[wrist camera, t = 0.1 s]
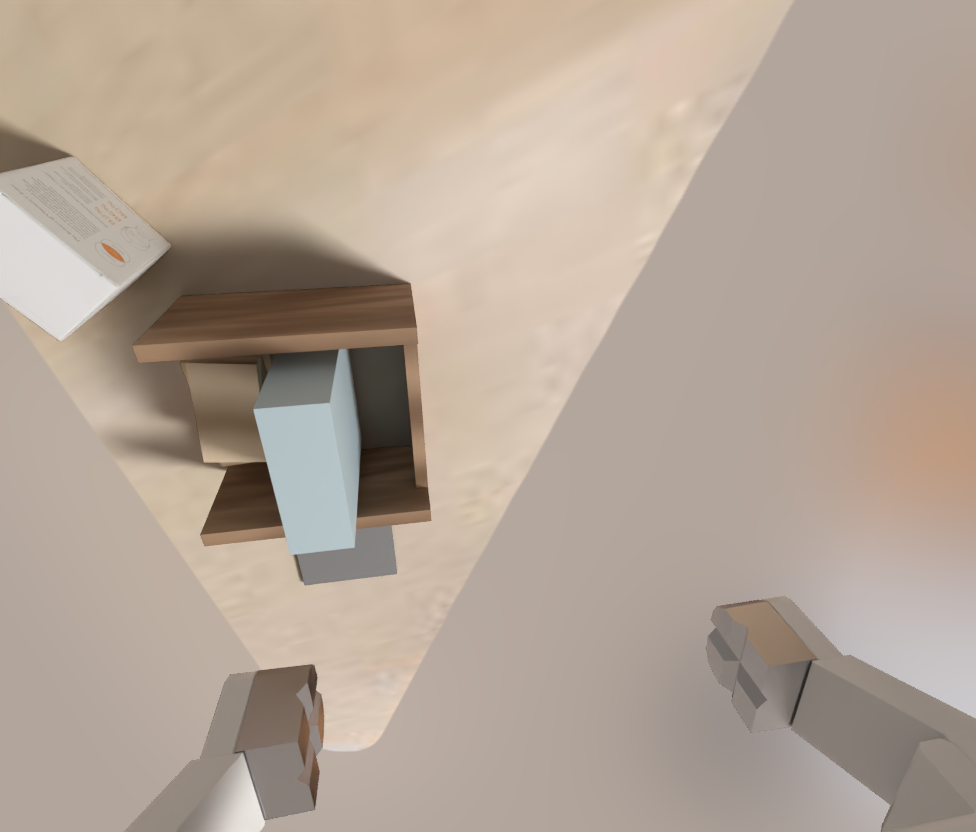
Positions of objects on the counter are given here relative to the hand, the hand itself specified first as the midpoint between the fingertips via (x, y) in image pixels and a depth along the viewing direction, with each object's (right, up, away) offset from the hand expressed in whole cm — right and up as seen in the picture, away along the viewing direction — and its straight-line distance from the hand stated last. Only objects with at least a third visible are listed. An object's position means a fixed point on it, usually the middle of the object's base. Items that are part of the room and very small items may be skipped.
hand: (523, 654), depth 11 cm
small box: (-29, +19, +29) cm, 45 cm away
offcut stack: (-22, +7, +37) cm, 44 cm away
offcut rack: (-16, +8, +38) cm, 42 cm away
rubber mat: (-16, -7, +47) cm, 50 cm away
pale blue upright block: (-15, +8, +38) cm, 42 cm away
